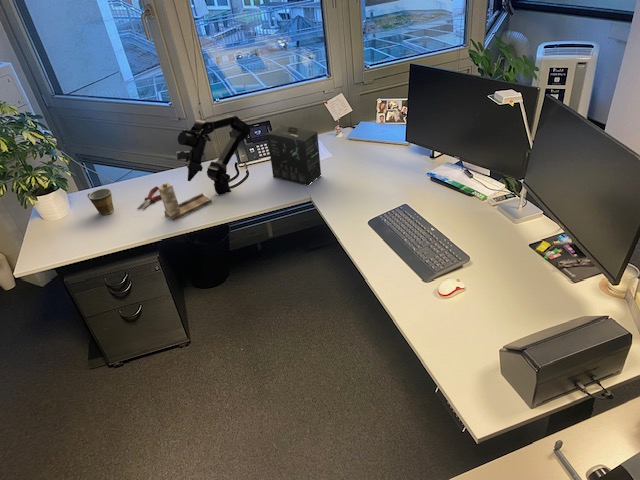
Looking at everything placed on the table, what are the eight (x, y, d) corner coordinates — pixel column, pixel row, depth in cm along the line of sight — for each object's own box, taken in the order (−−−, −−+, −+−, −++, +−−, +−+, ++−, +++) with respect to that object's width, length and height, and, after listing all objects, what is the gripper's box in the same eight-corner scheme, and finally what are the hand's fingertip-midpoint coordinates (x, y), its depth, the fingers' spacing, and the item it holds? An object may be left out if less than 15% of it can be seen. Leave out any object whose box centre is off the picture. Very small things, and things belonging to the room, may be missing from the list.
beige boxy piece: (174, 207, 217) (165, 179, 208) (182, 213, 212) (173, 185, 203) (164, 212, 214) (155, 184, 206) (173, 218, 209) (163, 189, 201)
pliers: (130, 209, 224) (129, 205, 222) (156, 189, 239) (155, 185, 237) (149, 212, 220) (148, 208, 218) (175, 192, 235) (173, 187, 233)
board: (202, 197, 226) (201, 192, 225) (211, 202, 221) (210, 197, 220) (165, 215, 216) (163, 210, 214) (173, 220, 211) (172, 216, 209)
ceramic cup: (122, 207, 226) (115, 189, 220) (108, 218, 218) (100, 200, 212) (101, 204, 230) (93, 187, 224) (86, 215, 222) (78, 197, 216)
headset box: (322, 175, 233) (317, 127, 218) (309, 186, 225) (303, 136, 210) (286, 168, 244) (279, 121, 229) (272, 178, 236) (264, 130, 221)
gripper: (178, 140, 215) (170, 172, 218) (181, 146, 198) (171, 180, 201) (202, 147, 219) (193, 178, 222) (207, 153, 203) (197, 187, 206)
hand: (188, 181), depth 213 cm, fingers closed
